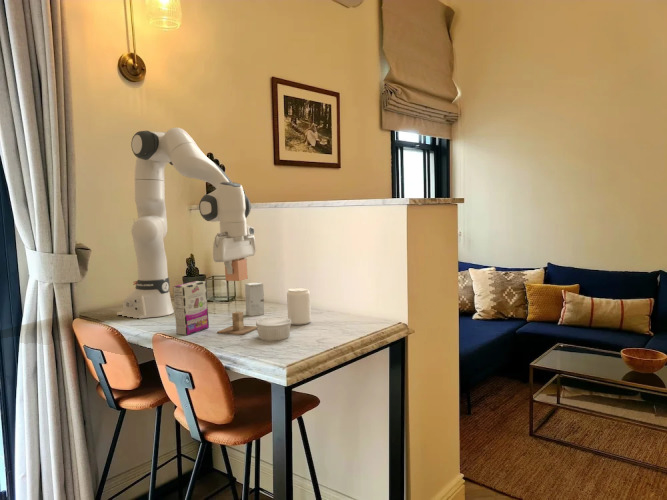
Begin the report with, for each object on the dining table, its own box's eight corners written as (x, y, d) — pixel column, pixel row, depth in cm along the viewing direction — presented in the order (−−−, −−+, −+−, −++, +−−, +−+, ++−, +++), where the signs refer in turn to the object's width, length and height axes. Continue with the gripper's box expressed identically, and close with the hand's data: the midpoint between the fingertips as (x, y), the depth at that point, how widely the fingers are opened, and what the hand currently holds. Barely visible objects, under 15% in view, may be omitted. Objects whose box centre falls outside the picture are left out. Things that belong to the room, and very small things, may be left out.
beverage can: (299, 326, 176) (297, 292, 174) (283, 323, 181) (282, 289, 180) (315, 322, 181) (314, 288, 180) (299, 319, 187) (298, 286, 186)
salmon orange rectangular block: (239, 281, 168) (237, 261, 167) (225, 280, 170) (224, 260, 169) (247, 278, 172) (246, 259, 172) (234, 278, 174) (233, 259, 174)
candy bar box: (198, 326, 180) (195, 280, 178) (209, 328, 177) (206, 281, 176) (175, 334, 170) (172, 285, 168) (186, 335, 167) (183, 286, 166)
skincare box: (250, 316, 194) (249, 284, 193) (245, 314, 198) (244, 283, 197) (265, 314, 197) (263, 283, 196) (260, 312, 201) (258, 281, 200)
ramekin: (286, 342, 156) (286, 325, 156) (251, 341, 158) (250, 325, 158) (295, 333, 167) (295, 317, 167) (262, 332, 169) (262, 317, 168)
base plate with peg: (217, 333, 170) (216, 314, 169) (234, 326, 179) (233, 308, 178) (242, 335, 166) (242, 316, 165) (258, 328, 175) (258, 310, 174)
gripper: (223, 233, 159) (226, 277, 160) (257, 228, 178) (260, 268, 179) (206, 233, 161) (209, 277, 163) (242, 229, 180) (244, 268, 181)
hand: (236, 272), depth 171 cm, fingers closed on salmon orange rectangular block, 5 cm apart
